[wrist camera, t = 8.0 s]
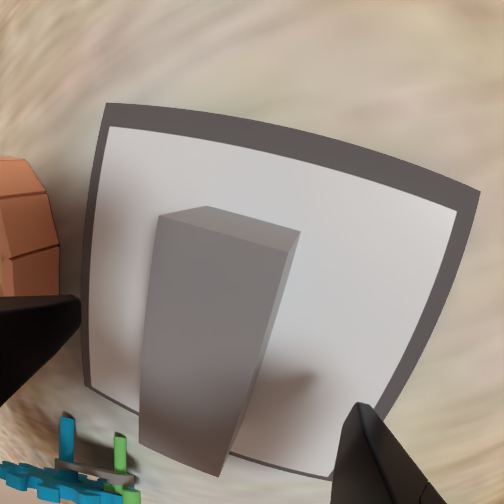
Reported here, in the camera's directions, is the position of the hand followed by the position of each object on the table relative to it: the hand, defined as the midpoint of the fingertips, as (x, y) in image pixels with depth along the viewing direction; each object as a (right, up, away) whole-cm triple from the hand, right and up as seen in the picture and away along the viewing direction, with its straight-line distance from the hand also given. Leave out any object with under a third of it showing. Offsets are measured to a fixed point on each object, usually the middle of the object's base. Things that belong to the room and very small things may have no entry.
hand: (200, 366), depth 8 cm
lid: (+1, +1, +3) cm, 3 cm away
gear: (-9, -11, +8) cm, 16 cm away
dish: (-13, +4, +6) cm, 14 cm away
